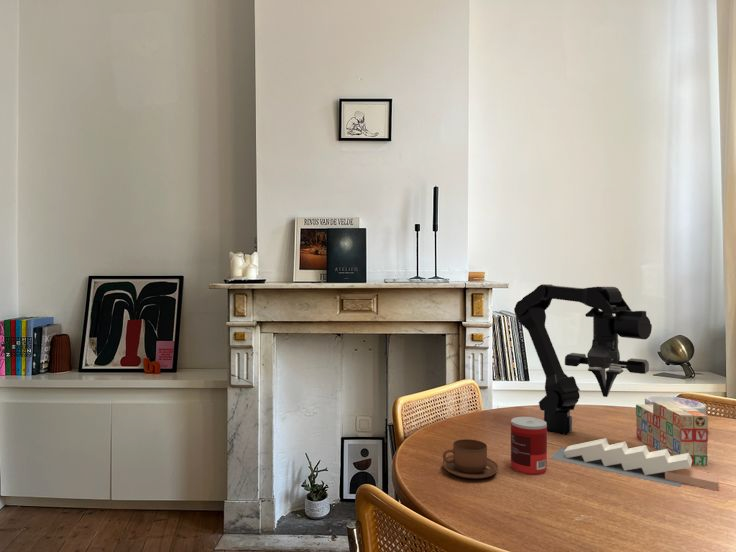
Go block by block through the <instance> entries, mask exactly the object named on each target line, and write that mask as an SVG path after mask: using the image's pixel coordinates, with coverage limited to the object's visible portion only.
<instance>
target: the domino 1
mask: <svg viewBox="0 0 736 552" xmlns="http://www.w3.org/2000/svg"><path fill="white" fill-rule="evenodd" d="M609 445H610V444H609V442H608V439H607V438H606V437H604V438H600V439H595V440H591V441H586V442H581V443H577V444H575V443H574V444H571V445H568V446H567V447H565V448H566V449H565V450H564V454H565V456H566V458H570V457H575V456H580V455H585V454H590V453H595V452H601V451H605V450H606V448H607V447H608V446H609Z"/></svg>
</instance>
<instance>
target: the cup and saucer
mask: <svg viewBox="0 0 736 552" xmlns="http://www.w3.org/2000/svg"><path fill="white" fill-rule="evenodd" d="M452 444H453V445H452V447H453V448H449V449H446V450H445V451H444V452H443V454H442V466H443V468H444V469H445V470H446V471H447V472H448V473H450V474H452V475H454V476H457V477H459V478H465V479H473V480H474V479H486V478H489V477H491V476H493V475H494V474H495V473H497V471H498V468H499V466H498V463H497V462H496V461H495V460H492V459H491V458H488V446H487V445H488V444H486V443H485V442H483V441H480V440H478V439H477V440H476V439H469V438H467V439H465V438H463V439H457V440H455V441H454V442H453V443H452ZM448 453H452V454H451V455H449V456H447V454H448Z"/></svg>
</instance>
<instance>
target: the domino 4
mask: <svg viewBox="0 0 736 552" xmlns="http://www.w3.org/2000/svg"><path fill="white" fill-rule="evenodd" d="M669 459H670V454H669V452H668V450H667V449H664V450H654V451H653V450H652V451H649V454H648V456H647V458H646V459H641V460H636V461H630V462H625V463H621V464H622V467H623V469H624V471H625V470H631V469H637V468H642V467H648V466H654V465H659V464H665V463H668V462H669Z"/></svg>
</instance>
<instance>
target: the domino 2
mask: <svg viewBox="0 0 736 552" xmlns="http://www.w3.org/2000/svg"><path fill="white" fill-rule="evenodd" d="M628 449H629V447H628V445H627V441H621V442H616V443H612V444H609V446H608V447H607V448H606V450H605V451H601V452H595V453H590V454H585V455H582V457H583V459H584V462H588V461H594V460H599V459H604V458H610V457H615V456H620V455H625V453H626V452H627V450H628Z"/></svg>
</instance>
